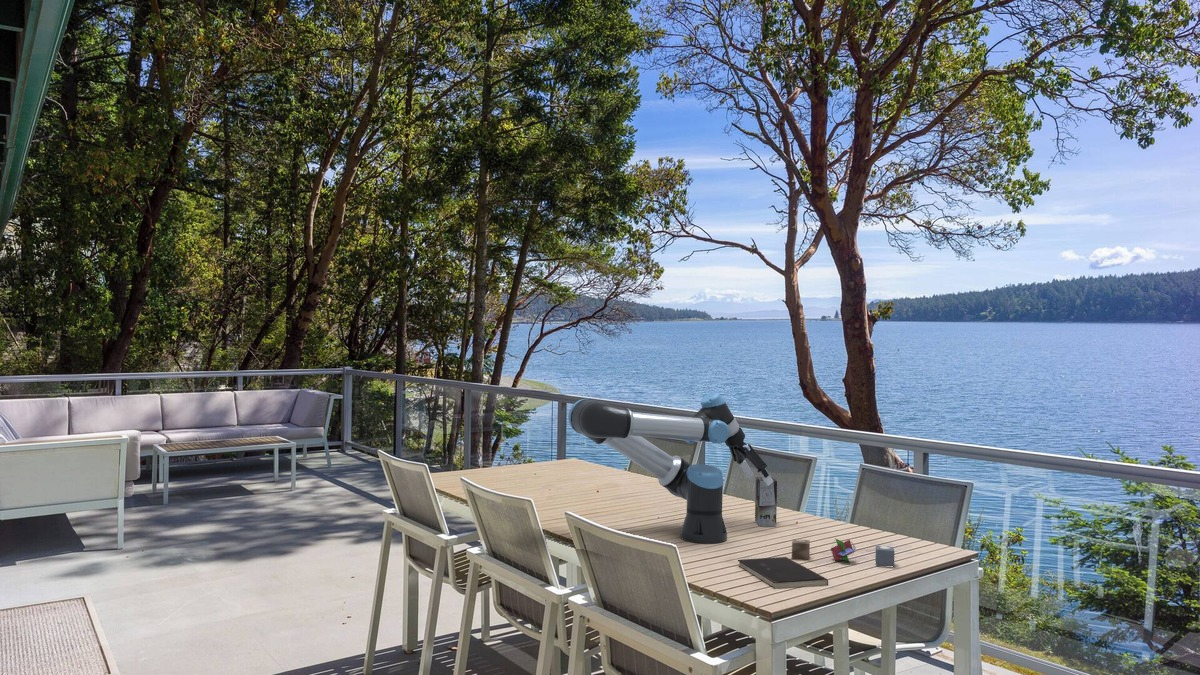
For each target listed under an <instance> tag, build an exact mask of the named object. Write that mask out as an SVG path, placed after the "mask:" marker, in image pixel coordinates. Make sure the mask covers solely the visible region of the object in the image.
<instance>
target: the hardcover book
mask: <svg viewBox="0 0 1200 675" xmlns="http://www.w3.org/2000/svg"><path fill="white" fill-rule="evenodd" d="M737 562H739V563H738V565H739V567H741V568H743V569H744V570H745V571H747V572H749V573H750V574H752V575H753V576H755V577H757V578H758V579H760V580H761V581H763V582H764V583H766V584H768V585H770V586H771V587H773V588H774V589H784V588H786V589H787V588H798V587H799V588H801V587H814V586H815V587H816V586H828V585H829V579H828V578H826V577H825V576H823V575H821V574H819V573H818V572H815V571H813V570H812V569H809V568H808V567H806V566H803V565H802V564H800V563H798V562H796V561H795V560H794V559H792V558H789V557H787V556H782V557H781V556H778V557H763V558H746V559H745V558H744V559H737Z"/></svg>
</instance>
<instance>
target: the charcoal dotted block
mask: <svg viewBox="0 0 1200 675" xmlns="http://www.w3.org/2000/svg"><path fill="white" fill-rule="evenodd" d="M874 562H876V563H875V566H876V567H879V566H893V567H894V568H895V548H894V546H888V545H887V546H886V545H875V560H874Z"/></svg>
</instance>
